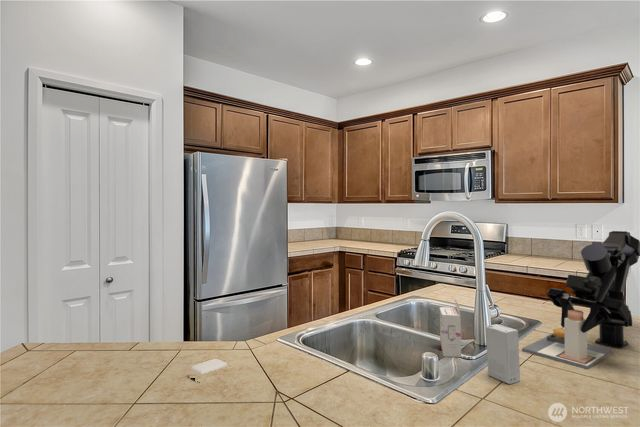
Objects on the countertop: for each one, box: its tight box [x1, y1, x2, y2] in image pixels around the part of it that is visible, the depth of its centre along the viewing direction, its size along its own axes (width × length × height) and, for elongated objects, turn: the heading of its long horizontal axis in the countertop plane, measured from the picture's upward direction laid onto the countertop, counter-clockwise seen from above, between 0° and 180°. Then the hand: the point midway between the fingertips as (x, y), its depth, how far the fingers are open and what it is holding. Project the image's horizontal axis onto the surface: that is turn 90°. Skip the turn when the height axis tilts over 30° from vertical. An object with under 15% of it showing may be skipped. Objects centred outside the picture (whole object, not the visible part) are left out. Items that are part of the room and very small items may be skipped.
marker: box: [563, 309, 588, 360], centre depth 100 cm, size 4×4×12 cm
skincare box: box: [485, 323, 521, 385], centre depth 91 cm, size 6×4×12 cm
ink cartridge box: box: [439, 297, 462, 358], centre depth 108 cm, size 9×5×15 cm, turn 168°
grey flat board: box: [521, 333, 613, 370], centre depth 107 cm, size 18×16×2 cm
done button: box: [552, 328, 565, 339], centre depth 113 cm, size 4×4×2 cm
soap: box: [190, 358, 229, 374], centre depth 96 cm, size 9×7×3 cm
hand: (572, 328), depth 100 cm, fingers open, 5 cm apart
